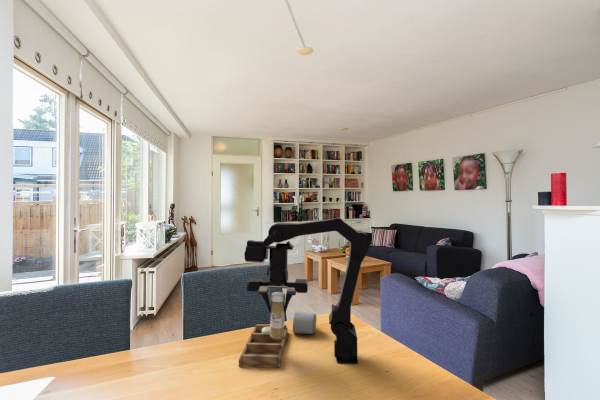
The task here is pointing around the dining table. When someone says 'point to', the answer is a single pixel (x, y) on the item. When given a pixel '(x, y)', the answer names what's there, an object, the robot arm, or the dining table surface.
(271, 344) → the rack
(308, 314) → the ceramic mug
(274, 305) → the sprinkles bottle
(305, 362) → the dining table surface
